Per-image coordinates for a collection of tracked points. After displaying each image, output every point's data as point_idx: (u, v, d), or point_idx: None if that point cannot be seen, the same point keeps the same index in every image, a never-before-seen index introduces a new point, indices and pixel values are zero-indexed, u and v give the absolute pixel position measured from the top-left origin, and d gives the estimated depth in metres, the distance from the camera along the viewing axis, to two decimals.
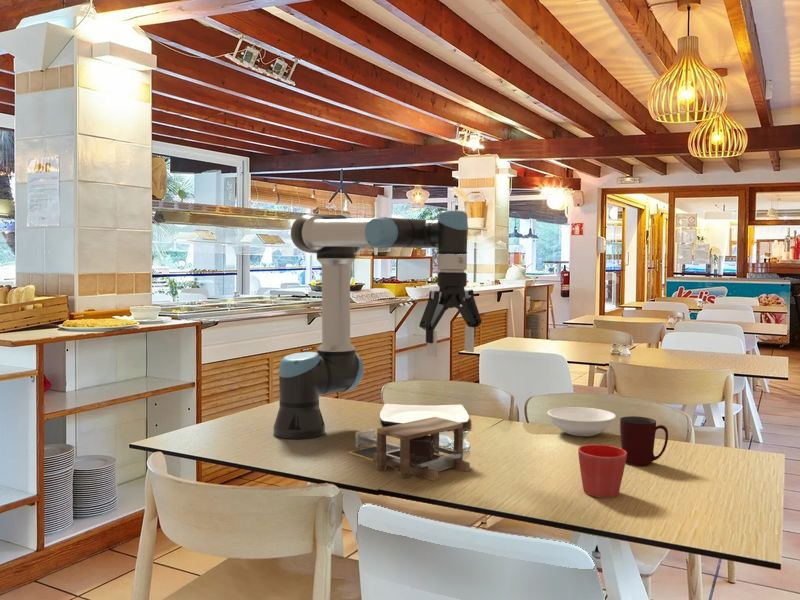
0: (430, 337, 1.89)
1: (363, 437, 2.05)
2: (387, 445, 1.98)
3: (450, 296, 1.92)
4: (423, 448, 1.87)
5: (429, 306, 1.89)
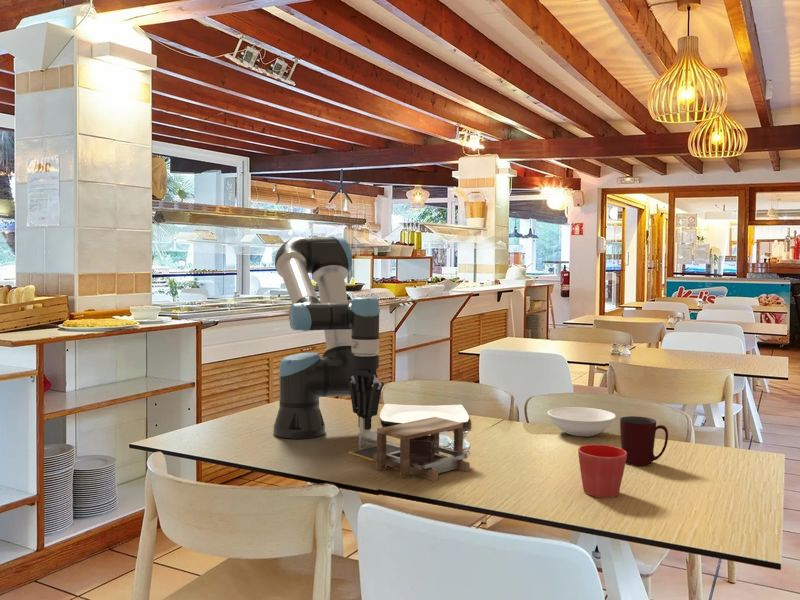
0: (359, 422, 2.06)
1: (366, 438, 2.04)
2: (390, 446, 1.97)
3: None
4: (423, 448, 1.87)
5: None
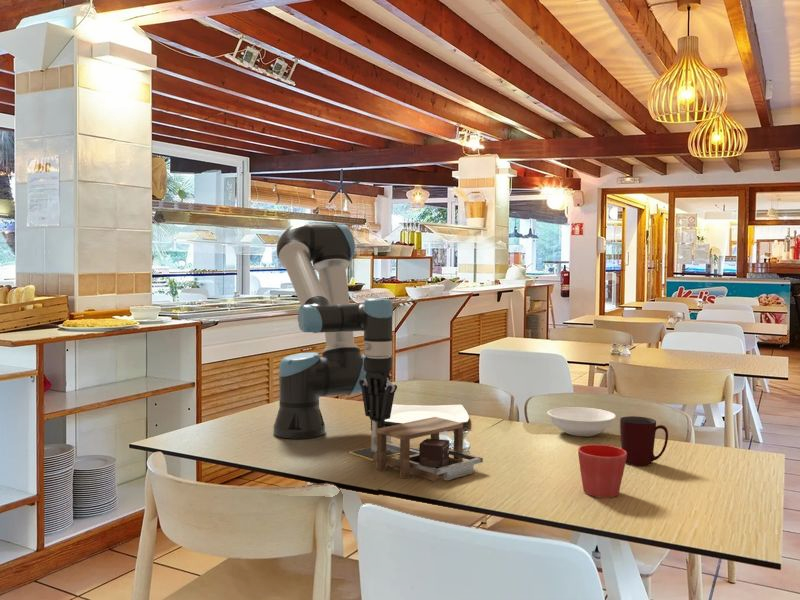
0: (371, 425, 2.02)
1: None
2: None
3: None
4: (434, 452, 1.83)
5: None
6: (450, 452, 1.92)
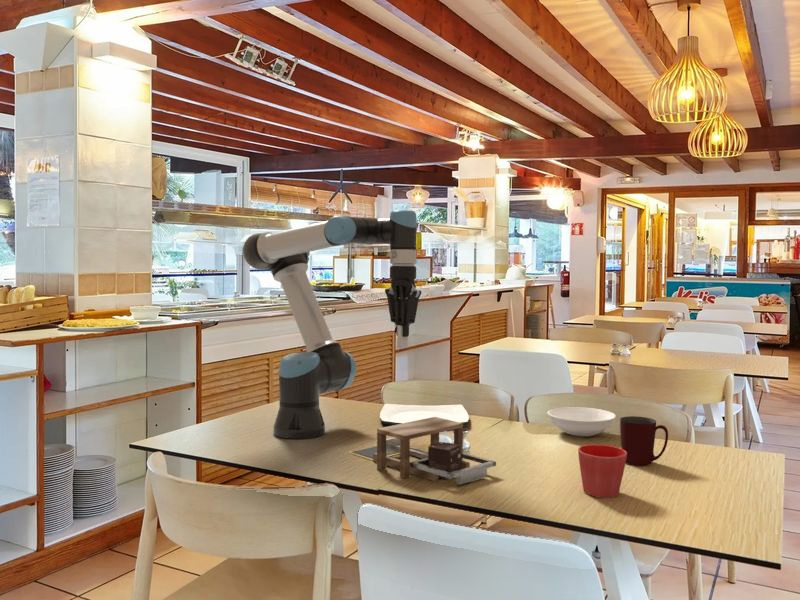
0: (396, 330, 2.16)
1: (390, 445, 1.97)
2: (415, 453, 1.91)
3: None
4: (442, 456, 1.79)
5: None
6: (462, 455, 1.89)
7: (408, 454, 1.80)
